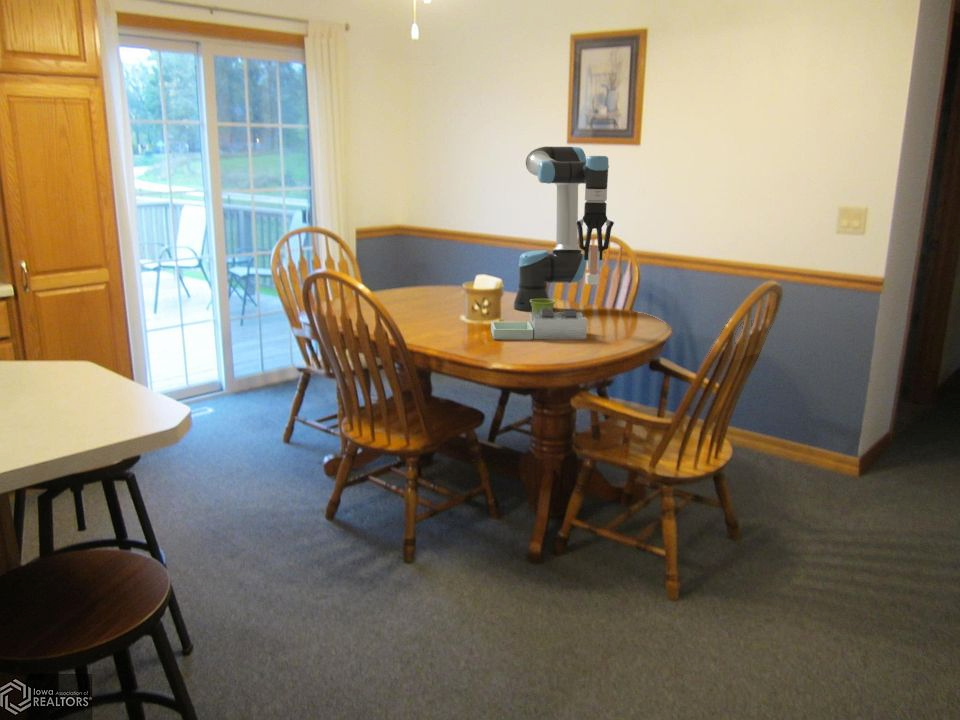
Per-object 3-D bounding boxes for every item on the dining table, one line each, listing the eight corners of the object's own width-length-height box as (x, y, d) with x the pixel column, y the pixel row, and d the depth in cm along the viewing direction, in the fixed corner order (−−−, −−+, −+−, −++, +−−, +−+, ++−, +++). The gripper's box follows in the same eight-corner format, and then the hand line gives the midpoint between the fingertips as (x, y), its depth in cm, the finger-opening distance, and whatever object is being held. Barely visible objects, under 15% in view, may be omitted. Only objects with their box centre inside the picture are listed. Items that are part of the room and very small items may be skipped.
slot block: (530, 331, 286) (530, 312, 284) (580, 331, 287) (581, 312, 285) (534, 339, 274) (534, 319, 272) (586, 339, 275) (587, 319, 273)
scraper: (585, 282, 286) (586, 244, 283) (596, 282, 287) (597, 244, 283) (587, 284, 281) (589, 246, 278) (599, 284, 282) (600, 246, 278)
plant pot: (537, 320, 306) (538, 297, 304) (558, 323, 301) (559, 300, 298) (524, 323, 298) (525, 301, 296) (546, 327, 293) (546, 303, 291)
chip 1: (540, 320, 281) (540, 308, 280) (551, 320, 281) (552, 308, 280) (541, 322, 277) (542, 311, 276) (553, 322, 277) (553, 311, 276)
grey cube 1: (563, 320, 281) (563, 309, 280) (574, 320, 281) (574, 309, 280) (564, 322, 277) (565, 311, 276) (576, 322, 277) (576, 311, 276)
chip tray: (490, 331, 285) (491, 321, 284) (528, 331, 286) (528, 321, 285) (493, 339, 273) (493, 329, 272) (532, 339, 273) (533, 329, 273)
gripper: (575, 202, 273) (572, 270, 279) (620, 202, 274) (616, 270, 280) (571, 201, 280) (569, 268, 286) (615, 201, 281) (611, 268, 287)
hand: (592, 269), depth 283 cm, fingers closed on scraper, 2 cm apart
